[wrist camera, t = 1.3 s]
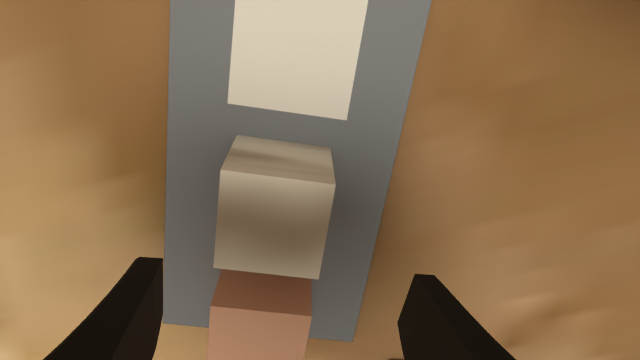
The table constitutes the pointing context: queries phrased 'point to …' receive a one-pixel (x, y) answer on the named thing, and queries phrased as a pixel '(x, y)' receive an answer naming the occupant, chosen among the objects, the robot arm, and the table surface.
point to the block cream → (274, 207)
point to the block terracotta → (259, 317)
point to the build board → (285, 129)
